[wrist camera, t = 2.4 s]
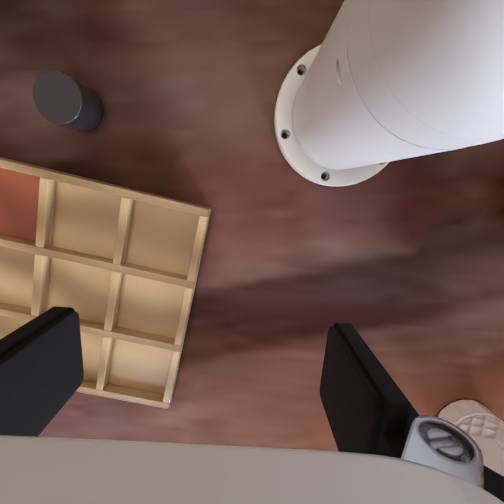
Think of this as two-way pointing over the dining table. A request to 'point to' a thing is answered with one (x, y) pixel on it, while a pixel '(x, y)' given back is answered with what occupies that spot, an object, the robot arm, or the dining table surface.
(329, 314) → the dining table surface
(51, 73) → the metal cylinder
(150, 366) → the board
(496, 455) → the white cup
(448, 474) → the robot arm
